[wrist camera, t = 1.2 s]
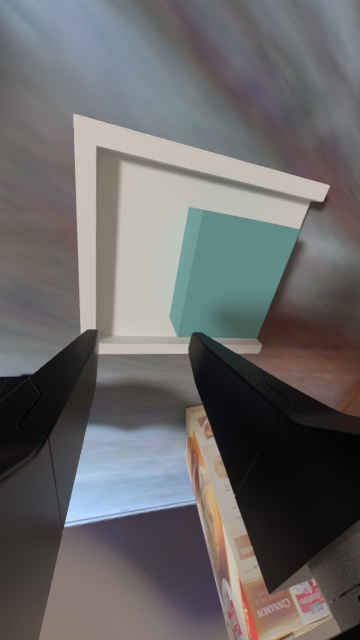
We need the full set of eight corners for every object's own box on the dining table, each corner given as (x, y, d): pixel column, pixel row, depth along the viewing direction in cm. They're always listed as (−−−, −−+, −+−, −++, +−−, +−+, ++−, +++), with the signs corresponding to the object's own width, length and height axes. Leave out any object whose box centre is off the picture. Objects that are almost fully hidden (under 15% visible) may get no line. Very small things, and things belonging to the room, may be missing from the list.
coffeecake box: (184, 407, 31) (259, 653, 14) (232, 397, 32) (350, 611, 16) (184, 464, 38) (234, 669, 22) (223, 454, 40) (296, 639, 24)
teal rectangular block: (239, 320, 25) (256, 338, 22) (169, 317, 22) (177, 337, 19) (272, 223, 20) (300, 229, 17) (188, 206, 18) (203, 210, 15)
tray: (250, 343, 28) (258, 353, 26) (84, 341, 22) (81, 354, 20) (311, 185, 20) (330, 185, 18) (78, 122, 14) (73, 113, 13)
